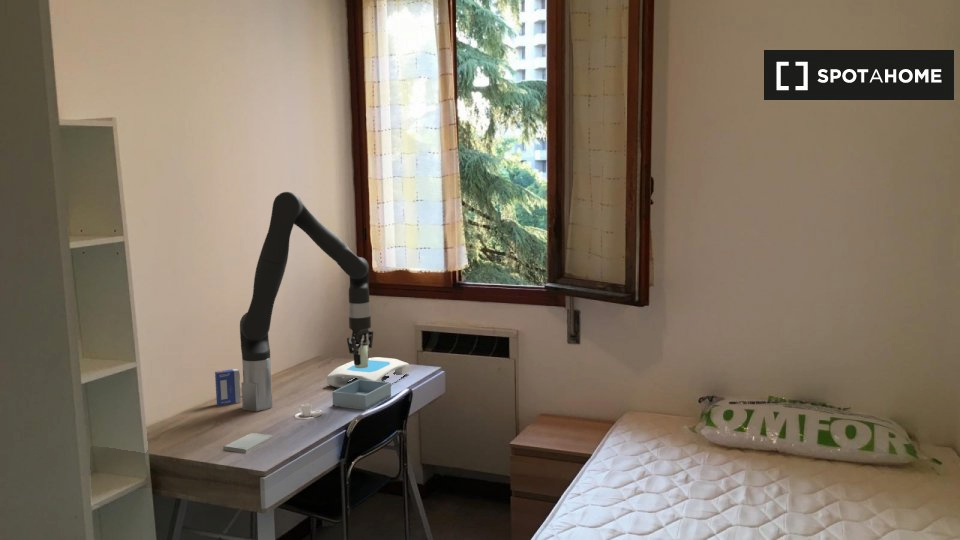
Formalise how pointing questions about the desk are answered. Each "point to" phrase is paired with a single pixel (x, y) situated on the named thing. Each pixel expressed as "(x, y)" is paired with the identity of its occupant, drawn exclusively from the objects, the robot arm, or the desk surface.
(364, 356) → the mint green capsule
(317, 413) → the teacup and saucer
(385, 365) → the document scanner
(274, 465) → the desk surface
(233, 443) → the hard drive
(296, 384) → the desk surface
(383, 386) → the bin
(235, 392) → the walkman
